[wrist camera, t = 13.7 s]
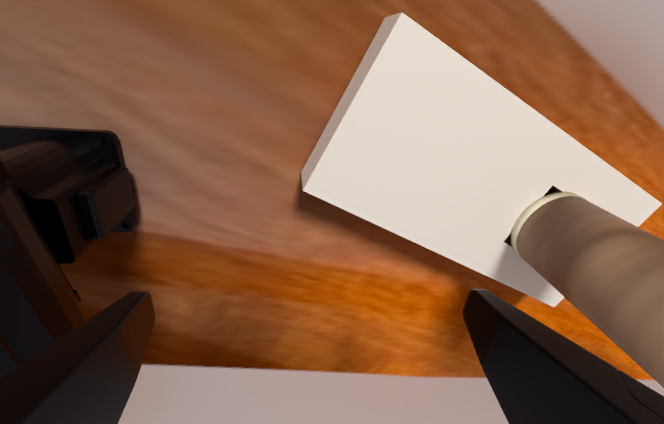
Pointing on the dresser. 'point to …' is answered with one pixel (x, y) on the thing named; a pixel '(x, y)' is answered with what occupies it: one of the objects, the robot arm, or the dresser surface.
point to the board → (453, 157)
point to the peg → (600, 270)
